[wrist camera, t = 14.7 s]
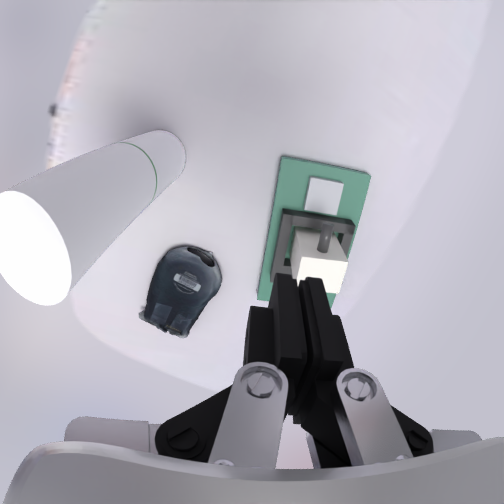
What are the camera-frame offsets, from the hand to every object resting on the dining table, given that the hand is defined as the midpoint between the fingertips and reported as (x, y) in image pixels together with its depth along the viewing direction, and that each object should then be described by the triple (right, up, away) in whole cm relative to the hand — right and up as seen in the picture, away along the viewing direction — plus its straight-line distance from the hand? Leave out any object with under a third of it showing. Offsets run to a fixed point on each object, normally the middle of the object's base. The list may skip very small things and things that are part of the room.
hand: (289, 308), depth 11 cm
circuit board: (+6, +4, +28) cm, 29 cm away
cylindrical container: (-13, +14, +24) cm, 31 cm away
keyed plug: (+6, +3, +27) cm, 28 cm away
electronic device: (-12, -3, +33) cm, 36 cm away
